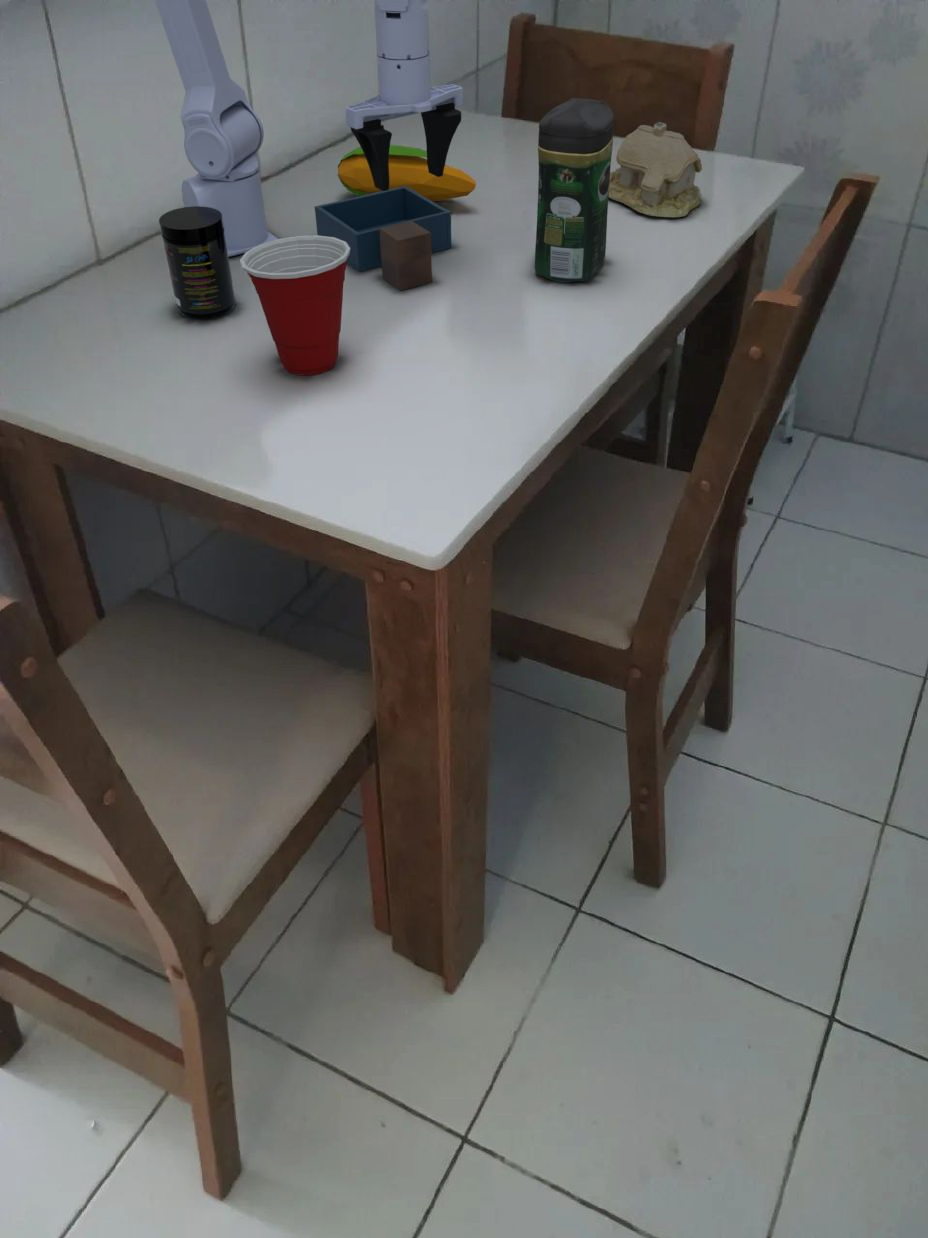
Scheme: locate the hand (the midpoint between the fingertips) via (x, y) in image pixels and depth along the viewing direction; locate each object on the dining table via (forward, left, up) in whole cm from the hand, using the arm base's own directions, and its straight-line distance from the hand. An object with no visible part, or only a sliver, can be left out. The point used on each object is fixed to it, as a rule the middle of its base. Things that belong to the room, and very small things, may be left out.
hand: (409, 181), depth 125 cm
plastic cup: (-23, -17, -10) cm, 30 cm away
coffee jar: (+14, -13, -10) cm, 22 cm away
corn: (+9, +17, -10) cm, 22 cm away
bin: (-1, +6, -10) cm, 11 cm away
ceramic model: (+37, -1, -10) cm, 39 cm away
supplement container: (-27, +1, -10) cm, 28 cm away
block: (-4, -5, -10) cm, 11 cm away
